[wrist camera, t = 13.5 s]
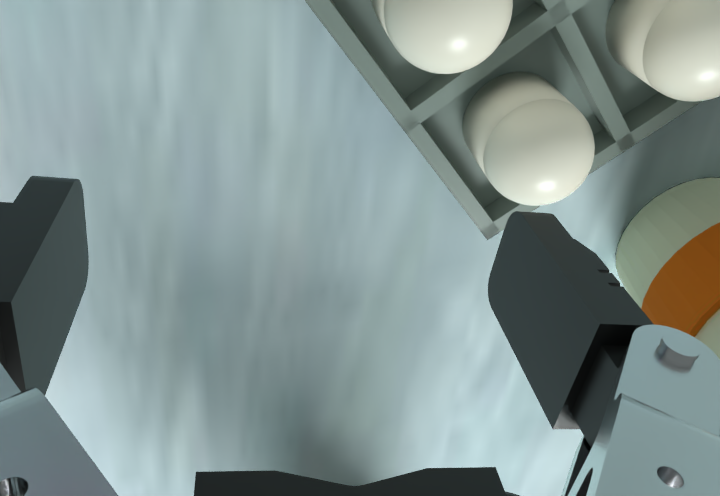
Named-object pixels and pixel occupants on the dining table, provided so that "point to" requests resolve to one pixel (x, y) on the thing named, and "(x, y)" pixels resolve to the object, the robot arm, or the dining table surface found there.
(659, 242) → the reusable coffee cup
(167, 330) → the dining table surface
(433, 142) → the egg carton
